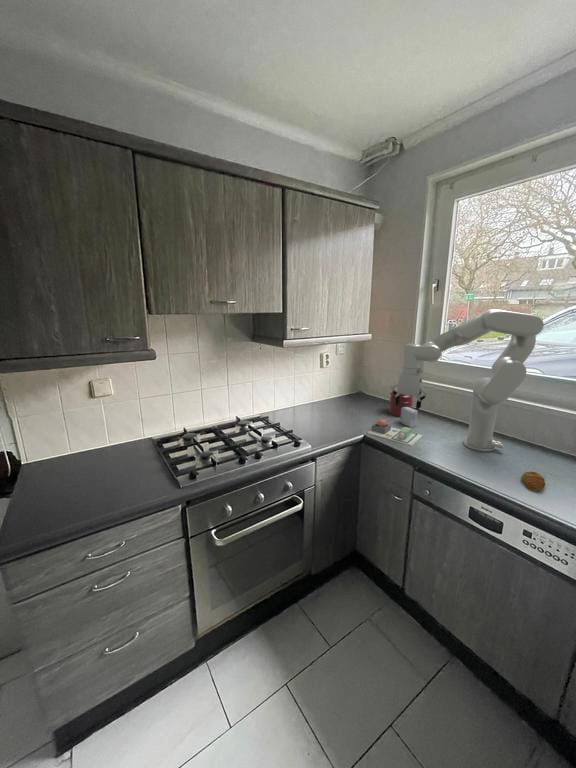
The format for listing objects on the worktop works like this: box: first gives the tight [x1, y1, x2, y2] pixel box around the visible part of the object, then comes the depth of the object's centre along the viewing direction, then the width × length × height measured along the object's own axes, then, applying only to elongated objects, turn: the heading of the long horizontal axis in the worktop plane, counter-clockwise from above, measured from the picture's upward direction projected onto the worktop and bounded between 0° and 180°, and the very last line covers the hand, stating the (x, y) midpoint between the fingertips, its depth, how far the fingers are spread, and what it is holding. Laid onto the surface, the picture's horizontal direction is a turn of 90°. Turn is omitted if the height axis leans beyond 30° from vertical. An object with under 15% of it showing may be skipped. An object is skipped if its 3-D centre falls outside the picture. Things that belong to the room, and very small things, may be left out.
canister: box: [388, 387, 414, 418], centre depth 184 cm, size 13×13×18 cm
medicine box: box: [399, 407, 419, 428], centre depth 168 cm, size 8×4×9 cm, turn 22°
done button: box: [376, 418, 387, 428], centre depth 160 cm, size 4×4×3 cm
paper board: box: [367, 422, 423, 447], centre depth 156 cm, size 22×14×3 cm, turn 49°
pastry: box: [520, 471, 546, 492], centre depth 113 cm, size 9×7×4 cm
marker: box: [398, 426, 413, 439], centre depth 152 cm, size 3×10×3 cm, turn 139°
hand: (407, 406), depth 149 cm, fingers open, 9 cm apart
